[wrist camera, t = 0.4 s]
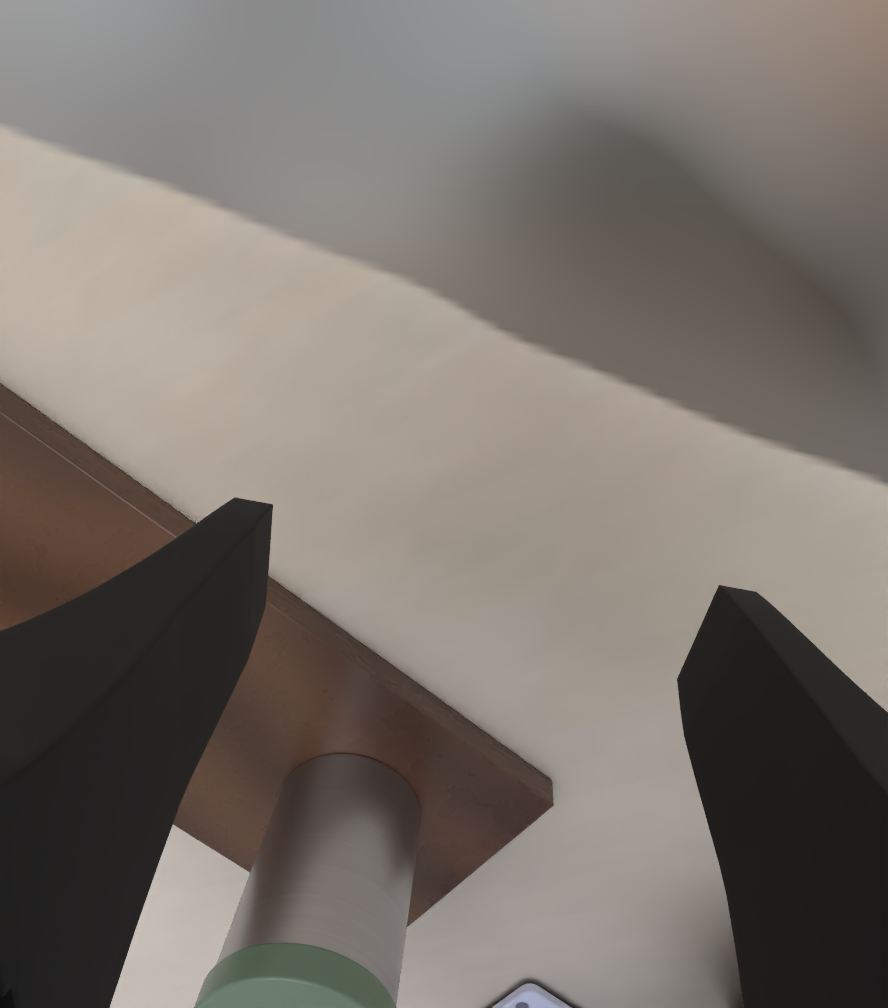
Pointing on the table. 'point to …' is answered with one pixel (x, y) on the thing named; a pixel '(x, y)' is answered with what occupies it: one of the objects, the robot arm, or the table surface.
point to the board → (259, 673)
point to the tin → (324, 894)
